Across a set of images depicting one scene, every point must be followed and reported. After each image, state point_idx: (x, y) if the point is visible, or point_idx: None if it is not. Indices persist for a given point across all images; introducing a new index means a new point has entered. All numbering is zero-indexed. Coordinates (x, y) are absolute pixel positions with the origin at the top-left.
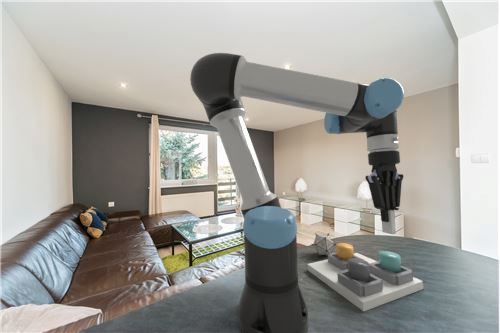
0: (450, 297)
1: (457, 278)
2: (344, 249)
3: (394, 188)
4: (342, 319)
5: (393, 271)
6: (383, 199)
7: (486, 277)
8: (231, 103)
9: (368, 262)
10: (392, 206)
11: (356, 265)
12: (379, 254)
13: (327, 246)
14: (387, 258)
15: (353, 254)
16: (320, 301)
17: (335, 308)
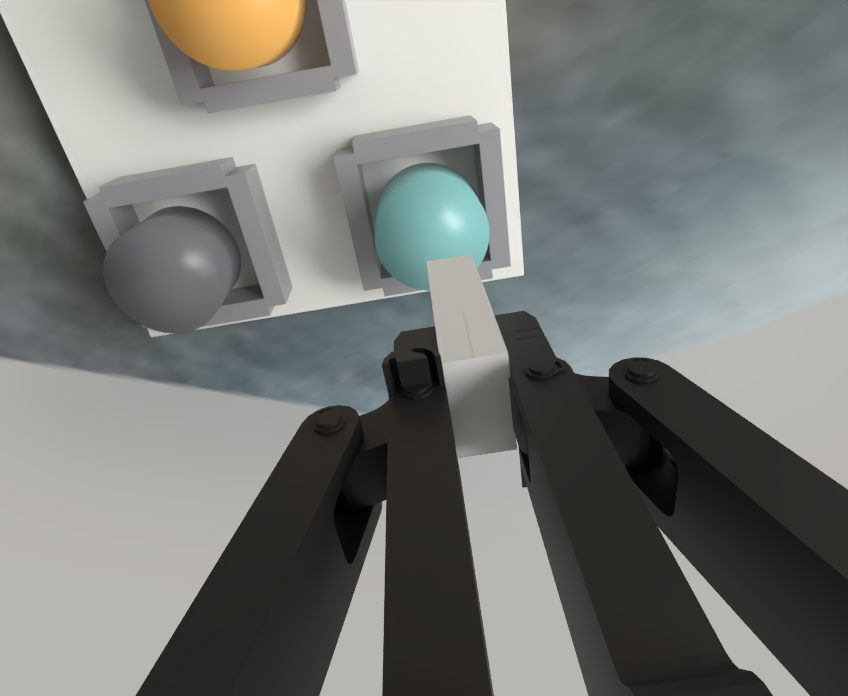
0: (551, 323)
1: (758, 232)
2: (187, 53)
3: (823, 642)
4: (66, 336)
5: (477, 174)
6: (349, 593)
7: None
8: None
9: (437, 21)
10: (525, 469)
11: (132, 310)
12: (378, 215)
13: None
14: (385, 264)
15: (282, 53)
16: (6, 240)
17: (60, 288)
